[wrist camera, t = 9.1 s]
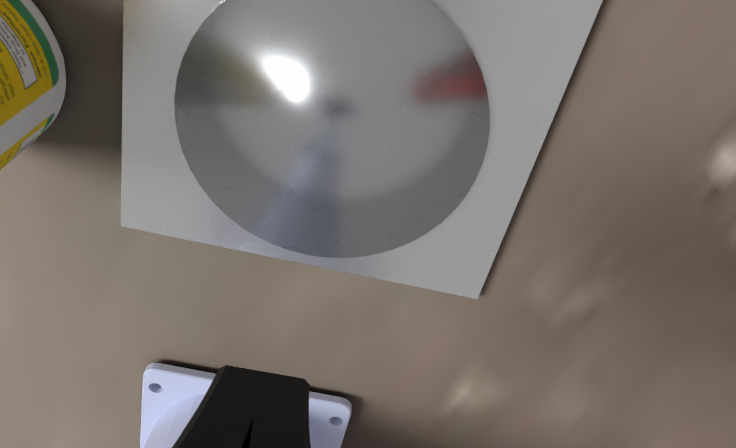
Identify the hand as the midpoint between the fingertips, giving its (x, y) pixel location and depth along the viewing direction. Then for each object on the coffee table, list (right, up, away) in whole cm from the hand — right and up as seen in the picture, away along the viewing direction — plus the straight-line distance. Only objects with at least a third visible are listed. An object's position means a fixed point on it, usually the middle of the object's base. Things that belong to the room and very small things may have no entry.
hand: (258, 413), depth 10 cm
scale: (+1, +8, +7) cm, 11 cm away
